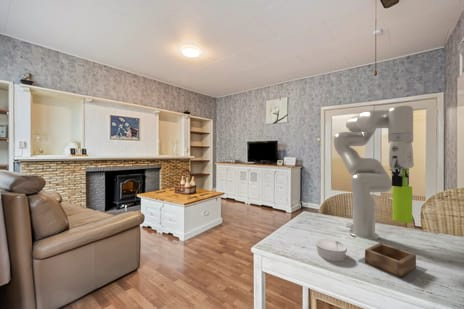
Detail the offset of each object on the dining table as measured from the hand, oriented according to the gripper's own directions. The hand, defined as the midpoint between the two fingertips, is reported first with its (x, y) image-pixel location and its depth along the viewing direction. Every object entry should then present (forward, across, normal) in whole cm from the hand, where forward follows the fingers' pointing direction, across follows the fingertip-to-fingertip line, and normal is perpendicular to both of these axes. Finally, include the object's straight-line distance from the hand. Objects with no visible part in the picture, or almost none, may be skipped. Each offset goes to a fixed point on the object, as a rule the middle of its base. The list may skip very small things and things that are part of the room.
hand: (400, 185), depth 81 cm
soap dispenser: (+14, 0, 0) cm, 14 cm away
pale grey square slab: (+30, -8, 0) cm, 31 cm away
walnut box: (+29, -9, 0) cm, 30 cm away
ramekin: (+30, -19, +17) cm, 39 cm away
